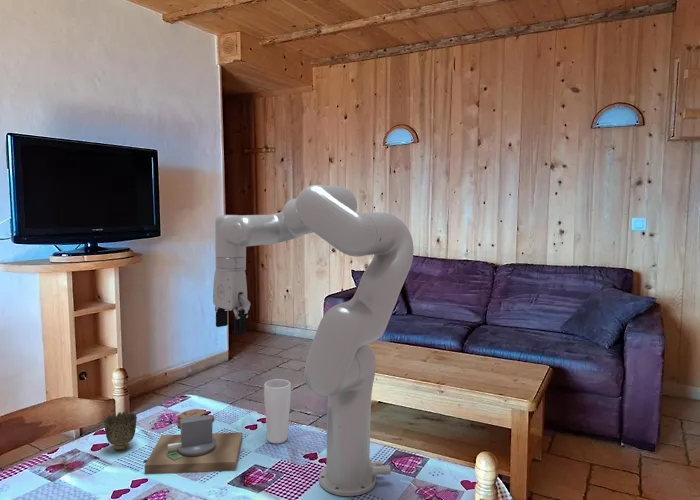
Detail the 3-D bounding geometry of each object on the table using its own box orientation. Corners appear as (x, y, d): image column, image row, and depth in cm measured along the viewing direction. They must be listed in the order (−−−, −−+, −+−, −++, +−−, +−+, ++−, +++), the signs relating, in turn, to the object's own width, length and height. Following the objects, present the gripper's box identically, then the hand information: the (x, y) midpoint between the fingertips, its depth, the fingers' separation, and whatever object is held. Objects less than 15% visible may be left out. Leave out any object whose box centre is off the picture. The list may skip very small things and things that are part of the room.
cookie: (199, 412, 148) (199, 402, 148) (220, 423, 141) (220, 413, 141) (167, 423, 141) (167, 413, 140) (188, 435, 134) (188, 424, 134)
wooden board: (241, 439, 131) (242, 431, 131) (235, 470, 116) (235, 461, 116) (161, 442, 129) (161, 434, 129) (144, 473, 114) (144, 464, 114)
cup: (137, 453, 123) (136, 421, 123) (103, 458, 121) (102, 425, 120) (137, 439, 130) (137, 409, 130) (105, 444, 128) (104, 413, 127)
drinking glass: (277, 448, 127) (277, 390, 126) (258, 440, 131) (258, 383, 130) (295, 438, 132) (296, 382, 131) (277, 431, 137) (277, 377, 135)
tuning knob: (212, 435, 128) (212, 409, 128) (218, 452, 120) (218, 423, 120) (166, 443, 124) (166, 415, 123) (169, 460, 116) (169, 431, 115)
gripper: (201, 261, 133) (202, 325, 135) (234, 268, 120) (234, 339, 122) (227, 259, 138) (227, 321, 140) (261, 266, 125) (261, 334, 127)
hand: (230, 329), depth 131 cm, fingers open, 9 cm apart
